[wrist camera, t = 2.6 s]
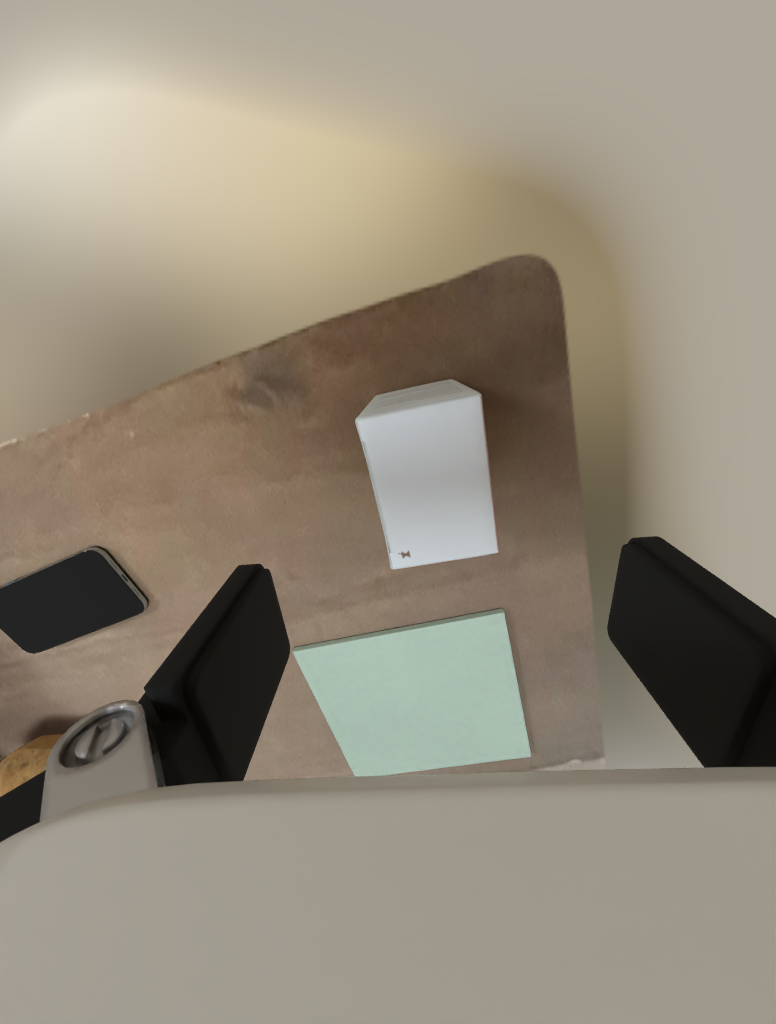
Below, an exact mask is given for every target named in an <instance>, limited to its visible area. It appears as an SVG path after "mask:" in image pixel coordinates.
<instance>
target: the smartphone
mask: <svg viewBox="0 0 776 1024" xmlns="http://www.w3.org/2000/svg"><path fill="white" fill-rule="evenodd" d="M146 608H147V600H146V599H145V597H144V596H143V595H142V594H141V593H140V592H139V590H138V589H137V588H136V587H135V586H134V584H133V583H132V582H131V581H130V580H129V579H128V577H127V576H126V575H125V574H124V573H123V571H122V570H121V569H120V568H119V567H118V566H117V564H116V563H115V562H114V561H113V560H112V558H111V557H110V556H109V555H108V554H107V553H106V552H105V551H104V550H102V549H100V548H96V547H91V548H88V549H86V550H84V551H82V552H79V553H77V554H75V555H73V556H70V557H68V558H66V559H64V560H61V561H59V562H57V563H55V564H52V565H50V566H48V567H46V568H43V569H41V570H39V571H37V572H34V573H32V574H30V575H28V576H25V577H23V578H21V579H19V580H16V581H13V582H11V583H9V584H7V585H4V586H3V587H1V588H0V629H1V630H2V631H4V632H5V633H6V634H7V635H8V636H9V637H10V638H11V639H12V640H13V641H14V642H15V643H16V644H18V645H19V646H20V647H21V648H22V649H23V650H25V651H26V652H29V653H33V654H36V653H39V652H42V651H45V650H47V649H50V648H52V647H55V646H58V645H60V644H63V643H65V642H68V641H71V640H73V639H76V638H78V637H81V636H84V635H86V634H89V633H91V632H94V631H97V630H99V629H102V628H104V627H107V626H110V625H112V624H115V623H118V622H120V621H123V620H125V619H128V618H131V617H133V616H136V615H138V614H141V613H142V612H143V611H144V610H145V609H146Z"/></svg>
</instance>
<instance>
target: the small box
mask: <svg viewBox="0 0 776 1024" xmlns="http://www.w3.org/2000/svg"><path fill="white" fill-rule="evenodd" d="M355 423H356V427H357V430H358V433H359V436H360V440H361V443H362V446H363V450H364V454H365V458H366V461H367V465H368V469H369V473H370V477H371V482H372V486H373V490H374V494H375V498H376V502H377V506H378V510H379V514H380V518H381V522H382V527H383V531H384V535H385V540H386V545H387V550H388V555H389V560H390V566H391V569H398V568H405V567H412V566H418V565H425V564H432V563H438V562H444V561H450V560H457V559H463V558H470V557H476V556H482V555H488V554H494V553H498V552H499V544H498V535H497V527H496V518H495V509H494V500H493V491H492V482H491V473H490V464H489V455H488V446H487V438H486V428H485V419H484V411H483V403H482V395H481V393H479V392H477V391H475V390H473V389H471V388H469V387H467V386H465V385H463V384H461V383H459V382H457V381H455V380H453V379H448V380H443V381H438V382H434V383H429V384H424V385H420V386H415V387H411V388H406V389H402V390H397V391H393V392H388V393H384V394H380V395H376V396H375V397H374V398H373V399H372V401H371V402H370V403H369V404H368V405H367V406H366V407H365V409H364V410H363V411H362V412H361V413H360V415H359V416H358V417H357V418H356V420H355Z"/></svg>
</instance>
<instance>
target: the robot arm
mask: <svg viewBox="0 0 776 1024" xmlns="http://www.w3.org/2000/svg"><path fill="white" fill-rule="evenodd" d="M607 628H608V629H607V630H608V635H609V637H610V640H611V641H612V643H613V644H614V645H615V647H616V648H617V649H618V651H619V652H620V654H621V655H622V656H623V658H624V659H625V660H626V662H627V663H628V664H629V666H630V667H631V669H632V670H633V671H634V673H635V674H636V675H637V677H638V678H639V679H640V681H641V682H642V683H643V685H644V686H645V687H646V689H647V690H648V692H649V693H650V694H651V696H652V697H653V698H654V700H655V701H656V703H657V704H658V705H659V706H660V708H661V709H662V711H663V712H664V713H665V715H666V716H667V718H668V719H669V720H670V722H671V723H672V724H673V726H674V727H675V728H676V730H677V731H678V732H679V734H680V735H681V737H682V738H683V739H684V741H685V742H686V743H687V745H688V746H689V747H690V748H691V750H692V752H693V753H694V754H695V756H696V757H697V758H698V760H699V761H700V762H701V764H702V765H703V766H704V767H705V768H667V769H616V770H571V771H532V772H493V773H457V774H421V775H389V776H359V777H328V778H297V779H271V780H252V781H243V779H244V777H245V774H246V772H247V769H248V766H249V763H250V761H251V758H252V755H253V753H254V750H255V747H256V745H257V742H258V739H259V736H260V734H261V731H262V728H263V726H264V723H265V720H266V718H267V715H268V712H269V709H270V707H271V704H272V701H273V699H274V696H275V693H276V691H277V688H278V685H279V683H280V680H281V677H282V674H283V672H284V669H285V666H286V664H287V661H288V658H289V654H290V644H289V639H288V636H287V632H286V628H285V625H284V621H283V617H282V613H281V610H280V606H279V602H278V599H277V595H276V591H275V587H274V584H273V580H272V576H271V573H270V571H269V569H264V567H263V566H262V565H261V564H251V565H239V566H238V567H237V568H236V569H235V570H234V572H233V573H232V574H231V575H230V577H229V578H228V579H227V581H226V582H225V583H224V585H223V586H222V587H221V588H220V590H219V591H218V592H217V594H216V595H215V596H214V597H213V599H212V600H211V601H210V603H209V604H208V605H207V607H206V608H205V609H204V610H203V612H202V613H201V614H200V616H199V617H198V618H197V619H196V621H195V622H194V623H193V625H192V626H191V627H190V629H189V630H188V631H187V632H186V634H185V635H184V636H183V638H182V639H181V640H180V641H179V643H178V644H177V645H176V647H175V648H174V649H173V651H172V652H171V653H170V654H169V656H168V657H167V658H166V660H165V661H164V662H163V663H162V665H161V666H160V667H159V669H158V670H157V671H156V673H155V674H154V675H153V676H152V678H151V679H150V680H149V682H148V683H147V684H146V685H145V687H144V690H145V694H144V695H143V696H142V698H141V699H140V700H139V702H136V701H134V700H122V701H117V702H113V703H110V704H107V705H105V706H102V707H100V708H98V709H96V710H94V711H93V712H91V713H89V714H87V715H86V716H84V717H83V718H81V719H80V720H79V721H78V722H76V723H75V724H74V725H72V726H71V727H70V728H69V729H68V730H67V731H66V732H65V733H64V734H63V735H62V736H61V737H60V738H59V739H58V741H57V742H56V744H55V745H54V747H53V748H52V750H51V751H50V754H49V757H48V760H47V763H46V770H45V771H43V772H41V773H40V774H38V775H36V776H35V777H33V778H31V779H30V780H28V781H26V782H24V783H23V784H21V785H19V786H18V787H16V788H14V789H13V790H11V791H9V792H8V793H6V794H4V795H3V796H1V797H0V1024H776V618H775V617H773V616H772V615H770V614H769V613H768V612H766V611H765V610H763V609H762V608H760V607H759V606H758V605H756V604H755V603H753V602H752V601H751V600H749V599H748V598H746V597H745V596H743V595H742V594H741V593H739V592H738V591H736V590H735V589H733V588H732V587H731V586H729V585H728V584H726V583H725V582H723V581H722V580H721V579H719V578H718V577H716V576H715V575H713V574H712V573H711V572H709V571H708V570H706V569H705V568H703V567H702V566H701V565H699V564H698V563H696V562H695V561H693V560H692V559H691V558H689V557H688V556H686V555H685V554H684V553H682V552H681V551H679V550H678V549H676V548H675V547H674V546H672V545H671V544H669V543H668V542H666V541H665V540H664V539H662V538H660V537H640V538H632V539H630V541H629V542H628V544H625V545H623V547H622V550H621V555H620V560H619V565H618V571H617V576H616V582H615V588H614V593H613V599H612V604H611V609H610V615H609V621H608V627H607Z"/></svg>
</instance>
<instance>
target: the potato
mask: <svg viewBox="0 0 776 1024" xmlns="http://www.w3.org/2000/svg"><path fill="white" fill-rule="evenodd" d="M62 735H63V734H56V735H43V736H41V737H38V738H36V739H34V740H32V741H30V742H29V743H27V744H25V745H24V746H22V747H20V748H18V749H17V750H15V751H13V752H12V753H10V754H9V755H8V756H7V757H6V758H5V759H4V760H3V761H2V762H0V797H1V796H3V795H4V794H6V793H8V792H9V791H11V790H13V789H14V788H16V787H18V786H19V785H21V784H23V783H24V782H26V781H28V780H30V779H31V778H33V777H35V776H36V775H38V774H40V773H41V772H43V771H45V770H46V763H47V760H48V757H49V754H50V751H51V750H52V748H53V747H54V745H55V744H56V742H57V741H58V739H59V738H60V737H61V736H62Z"/></svg>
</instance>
